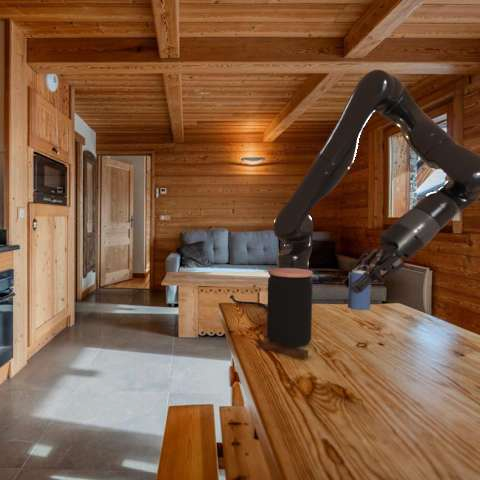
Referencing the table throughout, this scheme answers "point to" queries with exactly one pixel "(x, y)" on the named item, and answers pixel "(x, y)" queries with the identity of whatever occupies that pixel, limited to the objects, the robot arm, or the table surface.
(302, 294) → the coffee jar
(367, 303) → the salt shaker
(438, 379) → the table surface
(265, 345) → the walnut stick
